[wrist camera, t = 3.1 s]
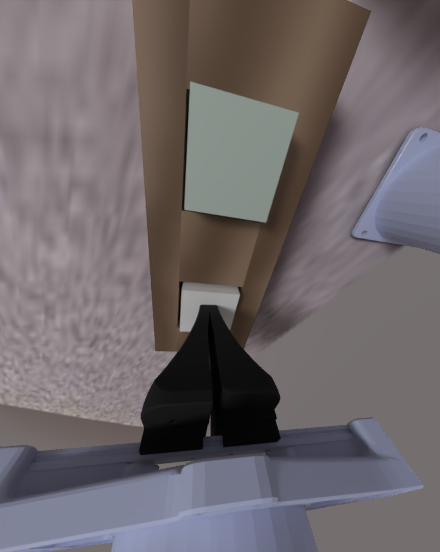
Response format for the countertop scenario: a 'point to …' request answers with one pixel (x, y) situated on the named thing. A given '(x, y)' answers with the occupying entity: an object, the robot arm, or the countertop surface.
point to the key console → (244, 82)
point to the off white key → (207, 302)
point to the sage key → (234, 153)
